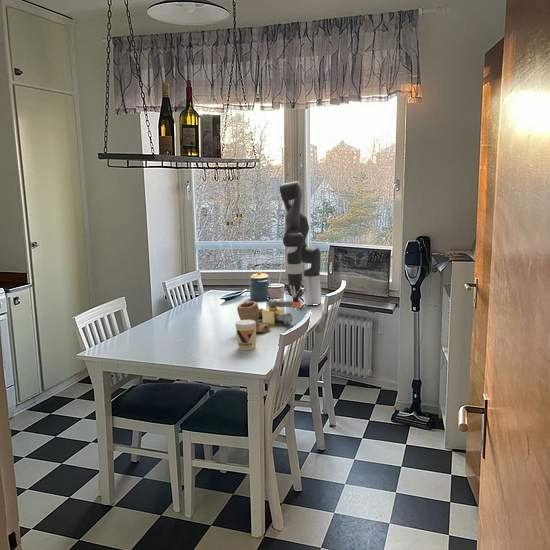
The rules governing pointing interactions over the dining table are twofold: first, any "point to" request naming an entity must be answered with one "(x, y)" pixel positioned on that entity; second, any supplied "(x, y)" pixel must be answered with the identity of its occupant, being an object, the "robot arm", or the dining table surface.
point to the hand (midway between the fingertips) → (295, 304)
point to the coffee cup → (246, 334)
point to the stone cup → (252, 315)
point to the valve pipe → (274, 316)
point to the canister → (259, 286)
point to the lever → (285, 304)
